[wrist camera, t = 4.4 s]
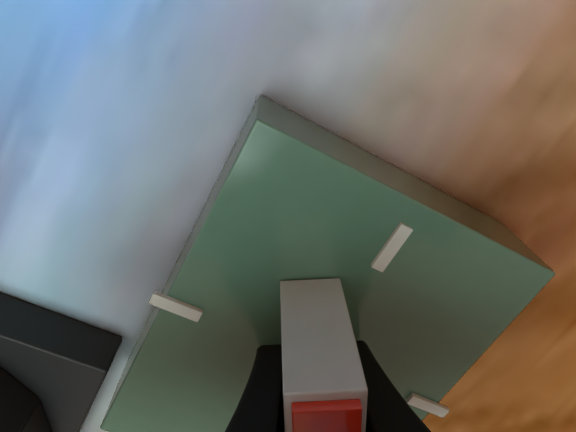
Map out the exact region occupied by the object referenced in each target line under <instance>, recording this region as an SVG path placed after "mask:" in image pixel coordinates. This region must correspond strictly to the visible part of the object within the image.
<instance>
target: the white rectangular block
mask: <svg viewBox="0 0 576 432" xmlns="http://www.w3.org/2000/svg"><path fill="white" fill-rule="evenodd" d="M280 312H281V348H282V383H283V407H284V426H285V432H366V417H367V400H368V387H367V383H366V379H365V375H364V371H363V367H362V363H361V359H360V355H359V351H358V347H357V343H356V340H355V336H354V332H353V328H352V324H351V320H350V316H349V312H348V308H347V304H346V300H345V296H344V292H343V288H342V284H341V280H340V278H331V279H310V280H289V281H280Z"/></svg>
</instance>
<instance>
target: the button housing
mask: <svg viewBox="0 0 576 432" xmlns="http://www.w3.org/2000/svg"><path fill="white" fill-rule="evenodd" d="M121 341H122V338H121V337H119V336H116V335H114V334H111V333H108V332H105V331H103V330H100V329H97V328H94V327H92V326H89V325H86V324H83V323H81V322H78V321H75V320H72V319H70V318H67V317H64V316H62V315H59V314H56V313H53V312H51V311H48V310H45V309H42V308H40V307H37V306H34V305H31V304H29V303H26V302H23V301H20V300H18V299H15V298H12V297H9V296H7V295H4V294H1V293H0V432H79V431H80V429H81V427H82V424H83V422H84V420H85V418H86V416H87V414H88V412H89V410H90V408H91V406H92V404H93V402H94V399H95V397H96V395H97V393H98V391H99V389H100V387H101V385H102V383H103V381H104V379H105V376H106V374H107V372H108V370H109V368H110V366H111V363H112V361H113V359H114V357H115V355H116V352H117V350H118V348H119V346H120V343H121Z"/></svg>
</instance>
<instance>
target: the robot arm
mask: <svg viewBox="0 0 576 432" xmlns="http://www.w3.org/2000/svg"><path fill="white" fill-rule="evenodd" d="M356 343H357V347H358V351H359V355H360V359H361V363H362V367H363V371H364V375H365V379H366V383H367V387H368V400H367V417H366V432H431V431H430V430H429V429H428V428H427V427H426V425H425V424H424V423H423V422H422V421H421V419H420V418H419V417H418V416H417V415H416V414H415V412H414V411H413V410H412V409H411V407H410V406H409V405H408V404H407V402H406V401H405V400H404V398H403V397H402V396H401V394H400V393H399V392H398V390H397V389H396V388H395V386H394V385H393V384H392V382H391V381H390V379H389V378H388V377H387V375H386V374H385V372H384V371H383V369H382V368H381V366H380V365H379V363H378V362H377V360H376V359H375V357H374V355H373V354H372V352H371V350H370V349H369V347H368V345H367V343H366V342H364V341H363V340H359V341H356ZM225 432H285V426H284V407H283V383H282V348H281V344H279V345H261V346H260V347H259V348H258V349H257V352H256V357H255V361H254V364H253V368H252V371H251V374H250V376H249V379H248V382H247V385H246V387H245V389H244V392H243V394H242V396H241V399H240V401H239V403H238V406H237V408H236V410H235V412H234V414H233V416H232V418H231V420H230V422H229V424H228V426H227V428H226V430H225Z"/></svg>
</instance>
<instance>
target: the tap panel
mask: <svg viewBox="0 0 576 432" xmlns="http://www.w3.org/2000/svg"><path fill="white" fill-rule="evenodd" d="M554 275H555V272H554V271H553V270H552V269H551V268H550V267H549V266H548V265H547V264H545V263H544V262H543V261H542V260H541V259H540V258H539V257H538V256H537V255H536V254H535V253H534V252H533V251H532V250H531V249H530V248H528V247H527V246H526V245H525V244H524V243H523V242H522V241H521V240H520V239H519V238H518V237H517V236H516V235H515V234H514V233H513V232H511V231H510V230H509V229H508V228H507V227H506V226H505V225H504V224H502V223H500V222H498V221H497V220H495V219H493V218H491V217H489V216H487V215H485V214H483V213H482V212H480V211H478V210H476V209H474V208H472V207H470V206H468V205H467V204H465V203H463V202H461V201H459V200H457V199H455V198H453V197H452V196H450V195H448V194H446V193H444V192H442V191H440V190H438V189H436V188H435V187H433V186H431V185H429V184H427V183H425V182H423V181H421V180H420V179H418V178H416V177H414V176H412V175H410V174H408V173H406V172H405V171H403V170H401V169H399V168H397V167H395V166H393V165H391V164H389V163H388V162H386V161H384V160H382V159H380V158H378V157H376V156H374V155H373V154H371V153H369V152H367V151H365V150H363V149H361V148H359V147H358V146H356V145H354V144H352V143H350V142H348V141H346V140H344V139H342V138H341V137H339V136H337V135H335V134H333V133H331V132H329V131H327V130H326V129H324V128H322V127H320V126H318V125H316V124H314V123H312V122H311V121H309V120H307V119H305V118H303V117H301V116H299V115H297V114H296V113H294V112H292V111H290V110H288V109H286V108H284V107H282V106H280V105H279V104H277V103H275V102H273V101H271V100H269V99H267V98H265V97H264V96H261V95H260V96H259V97H258V99H257V101H256V103H255V105H254V107H253V109H252V111H251V113H250V115H249V117H248V119H247V121H246V123H245V125H244V127H243V129H242V131H241V133H240V135H239V137H238V139H237V141H236V143H235V145H234V147H233V149H232V151H231V153H230V155H229V157H228V159H227V161H226V163H225V165H224V167H223V169H222V171H221V173H220V175H219V177H218V179H217V181H216V183H215V185H214V187H213V189H212V191H211V193H210V195H209V197H208V199H207V201H206V203H205V206H204V208H203V210H202V212H201V214H200V216H199V218H198V220H197V222H196V224H195V226H194V228H193V230H192V232H191V234H190V236H189V238H188V240H187V242H186V244H185V246H184V248H183V250H182V252H181V254H180V256H179V258H178V260H177V262H176V264H175V266H174V268H173V270H172V272H171V274H170V276H169V278H168V280H167V282H166V284H165V286H164V288H163V290H162V292H161V293H160V292H157V291H154V292H153V295H152V297H151V299H150V301H149V304H151V305H154V308H153V310H152V312H151V314H150V316H149V318H148V320H147V322H146V324H145V326H144V328H143V330H142V332H141V334H140V336H139V338H138V340H137V342H136V344H135V346H134V348H133V350H132V352H131V354H130V356H129V358H128V361H127V363H126V365H125V368H124V370H123V373H122V375H121V378H120V380H119V383H118V385H117V388H116V390H115V392H114V395H113V397H112V400H111V402H110V405H109V407H108V410H107V412H106V415H105V417H104V419H103V422H102V424H101V429H102V430H105V431H108V432H225V430H226V428H227V426H228V424H229V422H230V420H231V418H232V416H233V414H234V412H235V410H236V408H237V406H238V403H239V401H240V399H241V396H242V394H243V392H244V389H245V387H246V385H247V382H248V379H249V376H250V374H251V371H252V368H253V364H254V361H255V357H256V352H257V349H258V348H259V347H260V346H261V345H279V344H281V312H280V281H289V280H310V279H331V278H340V280H341V284H342V288H343V292H344V296H345V300H346V304H347V308H348V312H349V316H350V320H351V324H352V328H353V332H354V336H355V340H356V341H359V340H363V341H364V342H366V343H367V345H368V347H369V349H370V350H371V352H372V354H373V355H374V357H375V359H376V360H377V362H378V363H379V365H380V366H381V368H382V369H383V371H384V372H385V374H386V375H387V377H388V378H389V379H390V381H391V382H392V384H393V385H394V386H395V388H396V389H397V390H398V392H399V393H400V394H401V396H402V397H403V398H404V400H405V401H406V402H407V404H408V405H409V406H410V407H411V409H412V410H413V411H414V412H415V414H416V415H417V416H418V417H419V418H420V419H421V421H422V420H423V419H424V418H425V417H426V416H427V415H428V414H429V413H432V414H434V415H437V416H440V417H442V418H444V416H445V415H446V414H447V413H448V412H449V411H450V410H449V408H448V407H447V406H445V405H442V404H440V403H439V401H440V400H441V399H442V398H443V397H444V396H445V395H446V394H447V393H448V392H449V390H450V389H451V388H452V387H453V386H454V385H455V384H456V383H457V382H458V381H459V379H460V378H461V377H462V376H463V375H464V374H465V373H466V372H467V371H468V370H469V369H470V367H471V366H472V365H473V364H474V363H475V362H476V361H477V360H478V359H479V358H480V356H481V355H482V354H483V353H484V352H485V351H486V350H487V349H488V348H489V347H490V345H491V344H492V343H493V342H494V341H495V340H496V339H497V338H498V337H499V336H500V334H501V333H502V332H503V331H504V330H505V329H506V328H507V327H508V326H509V325H510V323H511V322H512V321H513V320H514V319H515V318H516V317H517V316H518V315H519V314H520V313H521V311H522V310H523V309H524V308H525V307H526V306H527V305H528V304H529V303H530V302H531V300H532V299H533V298H534V297H535V296H536V295H537V294H538V293H539V292H540V291H541V289H542V288H543V287H544V286H545V285H546V284H547V283H548V282H549V281H550V280H551V278H552V277H553V276H554Z"/></svg>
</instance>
